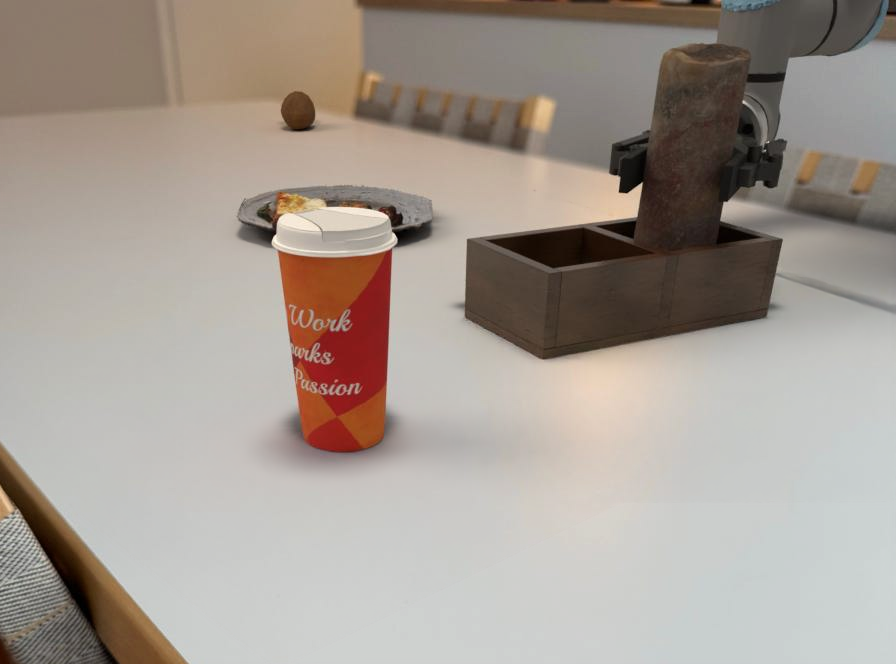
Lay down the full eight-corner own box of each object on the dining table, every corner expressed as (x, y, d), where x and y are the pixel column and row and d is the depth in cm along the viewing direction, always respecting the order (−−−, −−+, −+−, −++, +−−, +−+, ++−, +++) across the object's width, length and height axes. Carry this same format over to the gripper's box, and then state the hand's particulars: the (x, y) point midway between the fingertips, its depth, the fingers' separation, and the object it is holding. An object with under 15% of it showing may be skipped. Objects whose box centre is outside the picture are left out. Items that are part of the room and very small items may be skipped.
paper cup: (265, 433, 66) (244, 216, 58) (352, 405, 70) (344, 199, 62) (334, 470, 61) (322, 239, 53) (423, 437, 66) (424, 219, 57)
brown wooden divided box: (674, 282, 97) (685, 210, 93) (766, 317, 88) (783, 238, 84) (464, 316, 88) (466, 238, 84) (542, 359, 78) (549, 273, 74)
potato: (280, 132, 181) (277, 94, 177) (283, 125, 189) (280, 88, 185) (315, 132, 181) (313, 94, 178) (316, 124, 189) (314, 88, 186)
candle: (720, 294, 90) (764, 44, 78) (691, 313, 85) (734, 50, 74) (644, 281, 94) (676, 41, 82) (612, 299, 89) (641, 46, 77)
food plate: (435, 252, 107) (435, 218, 105) (227, 252, 107) (223, 218, 105) (430, 205, 127) (430, 176, 125) (255, 205, 127) (253, 176, 125)
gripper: (820, 189, 95) (792, 239, 78) (618, 173, 102) (552, 216, 85) (840, 103, 91) (815, 137, 74) (627, 93, 98) (559, 121, 81)
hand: (674, 179), depth 80 cm, fingers open, 8 cm apart
